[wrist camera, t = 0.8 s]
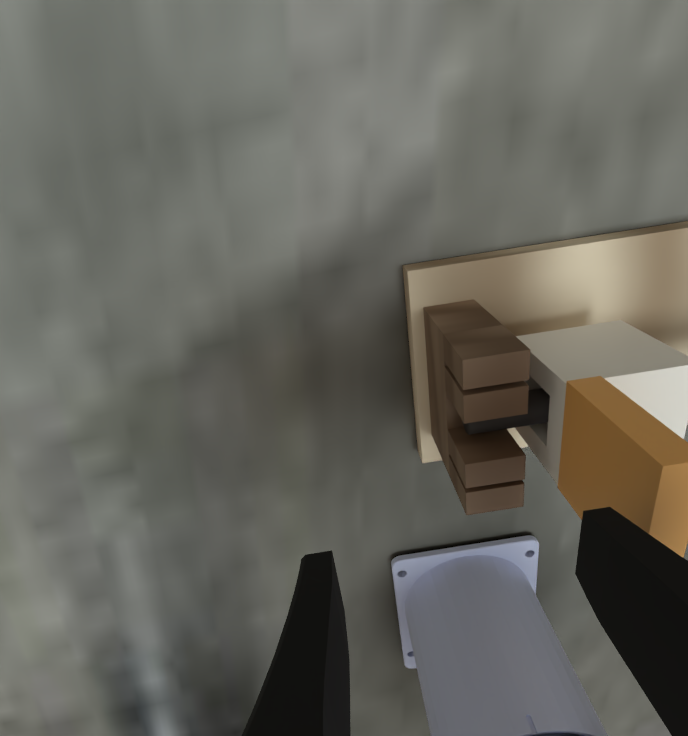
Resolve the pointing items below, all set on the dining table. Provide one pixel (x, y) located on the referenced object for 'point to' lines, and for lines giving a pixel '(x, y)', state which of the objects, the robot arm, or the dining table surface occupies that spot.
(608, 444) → the sleeve
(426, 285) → the board
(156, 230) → the dining table surface
